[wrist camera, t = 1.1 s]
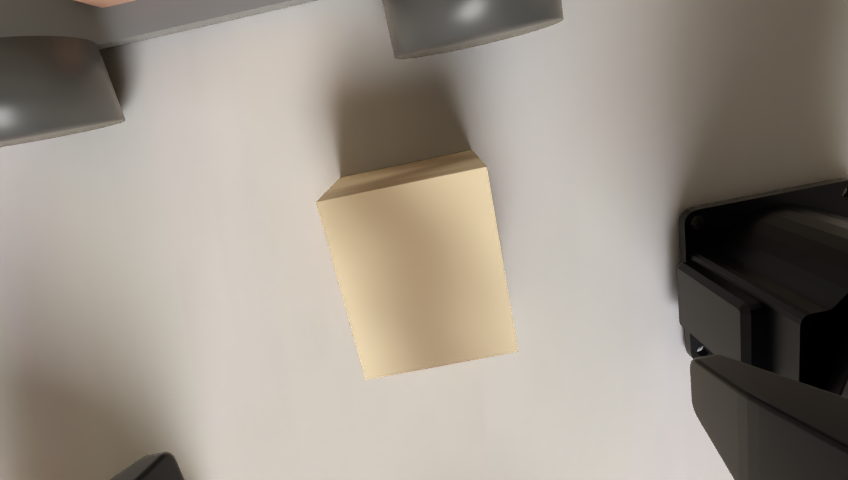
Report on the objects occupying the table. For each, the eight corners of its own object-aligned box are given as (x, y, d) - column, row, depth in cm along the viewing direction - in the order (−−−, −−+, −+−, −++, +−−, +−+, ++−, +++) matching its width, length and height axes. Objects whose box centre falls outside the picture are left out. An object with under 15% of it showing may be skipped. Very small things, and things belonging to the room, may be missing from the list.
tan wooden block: (471, 149, 18) (486, 166, 14) (496, 295, 20) (518, 351, 15) (340, 176, 18) (315, 202, 14) (377, 318, 20) (365, 380, 16)
